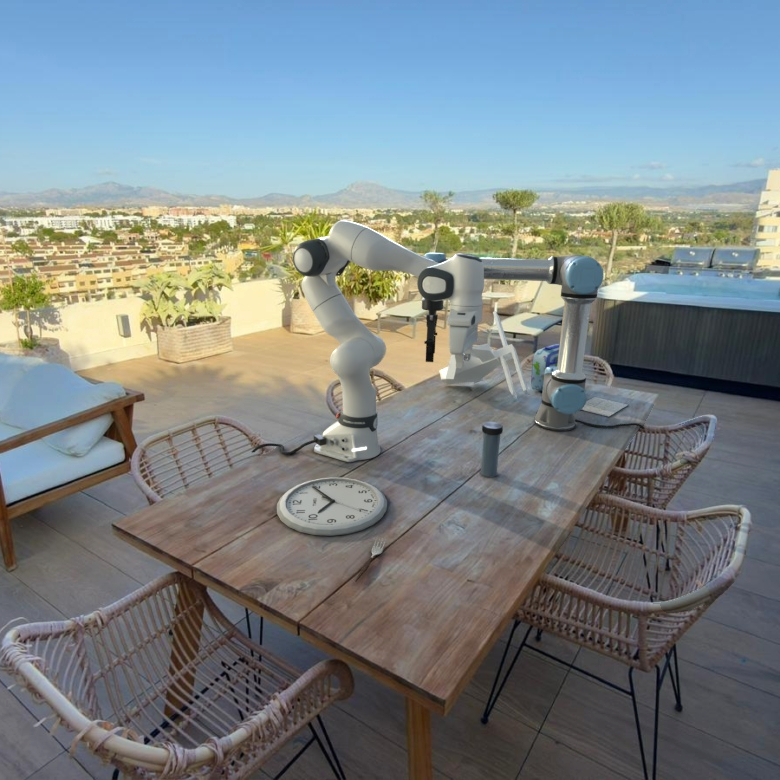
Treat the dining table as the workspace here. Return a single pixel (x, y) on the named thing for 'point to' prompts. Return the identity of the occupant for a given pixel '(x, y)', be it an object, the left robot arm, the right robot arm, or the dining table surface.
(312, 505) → the wall clock
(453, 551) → the dining table surface
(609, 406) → the invitation card
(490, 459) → the jar
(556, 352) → the lunch box
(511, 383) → the white plastic object
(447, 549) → the dining table surface
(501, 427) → the lid
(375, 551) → the fork
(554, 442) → the dining table surface
